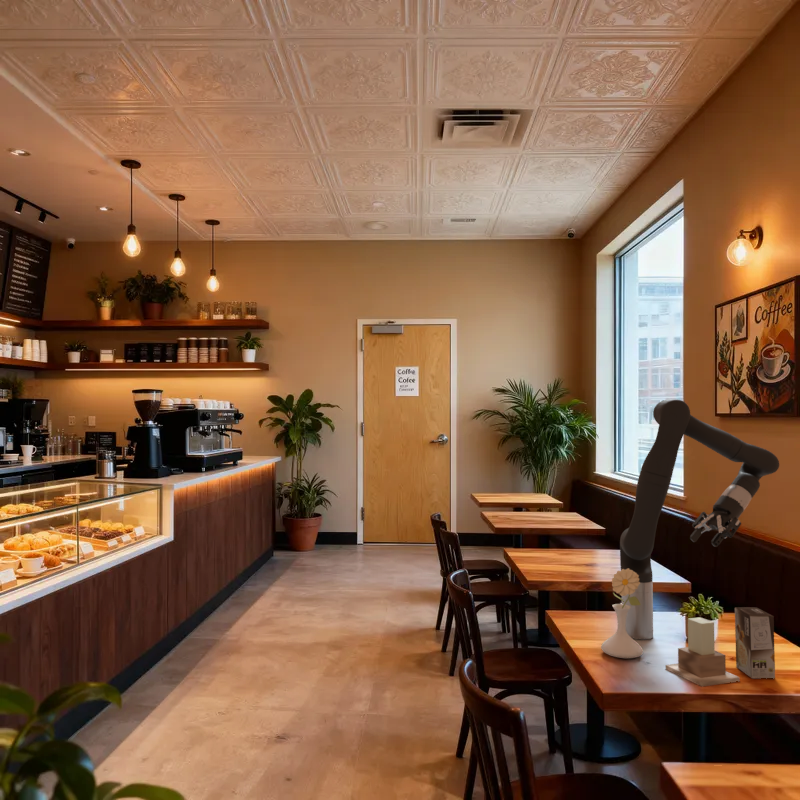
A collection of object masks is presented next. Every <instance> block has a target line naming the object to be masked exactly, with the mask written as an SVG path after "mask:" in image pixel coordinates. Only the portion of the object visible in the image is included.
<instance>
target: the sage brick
mask: <svg viewBox="0 0 800 800" xmlns="http://www.w3.org/2000/svg"><path fill="white" fill-rule="evenodd" d="M687 647H688V649H689V650H691V651H694V652H696V653H698V654H700V655H708V654H715V651H716V650H715V622H714V621H711V620H709V619H706V618H703V617H700V616H699V617H692V618H691V617H690V618H687Z"/></svg>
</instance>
